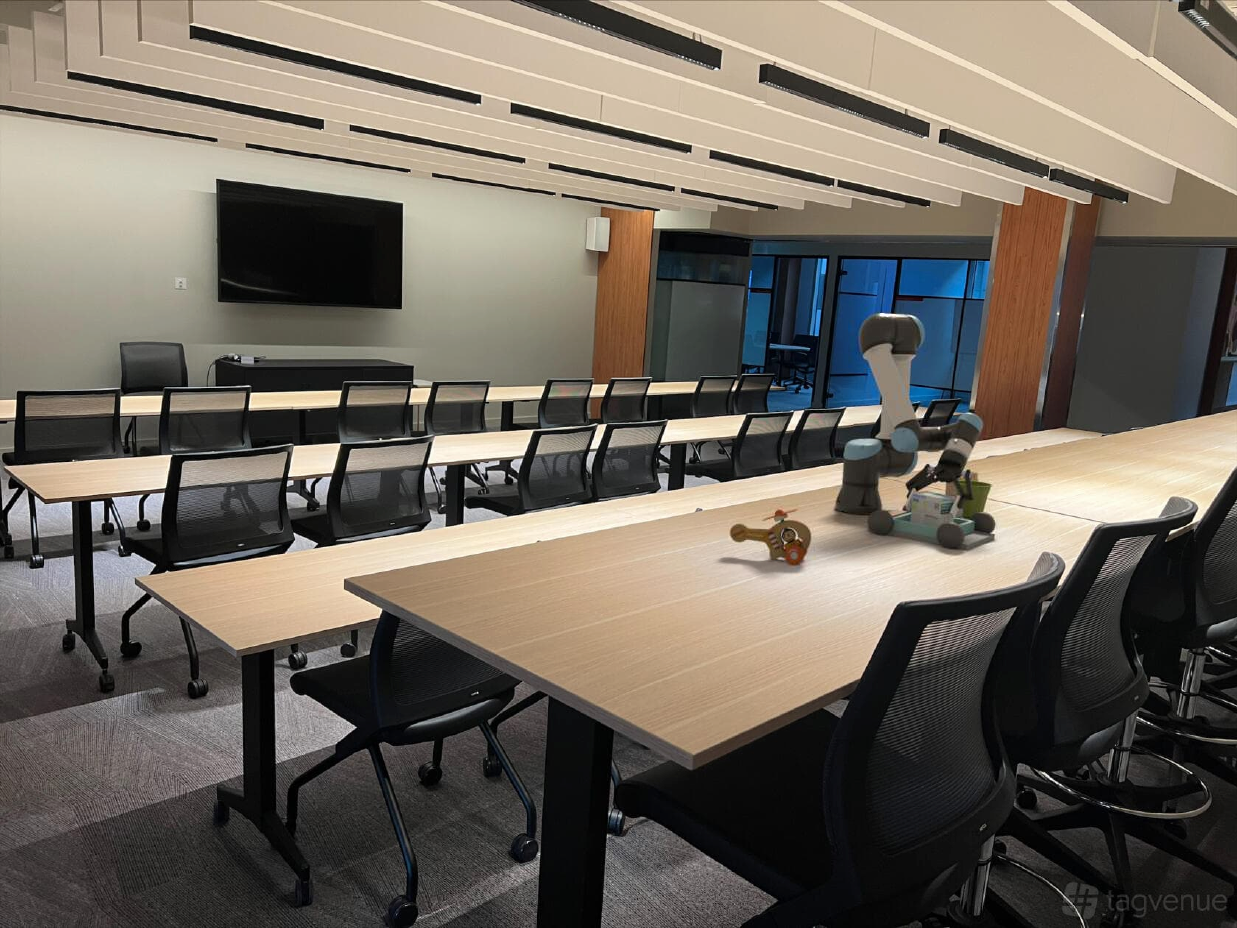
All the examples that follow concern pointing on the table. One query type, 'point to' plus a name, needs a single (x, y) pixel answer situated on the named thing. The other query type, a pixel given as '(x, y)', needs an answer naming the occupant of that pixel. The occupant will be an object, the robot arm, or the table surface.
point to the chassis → (935, 529)
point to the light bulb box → (931, 508)
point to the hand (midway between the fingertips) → (929, 512)
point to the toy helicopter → (778, 537)
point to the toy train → (952, 489)
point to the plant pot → (975, 497)
